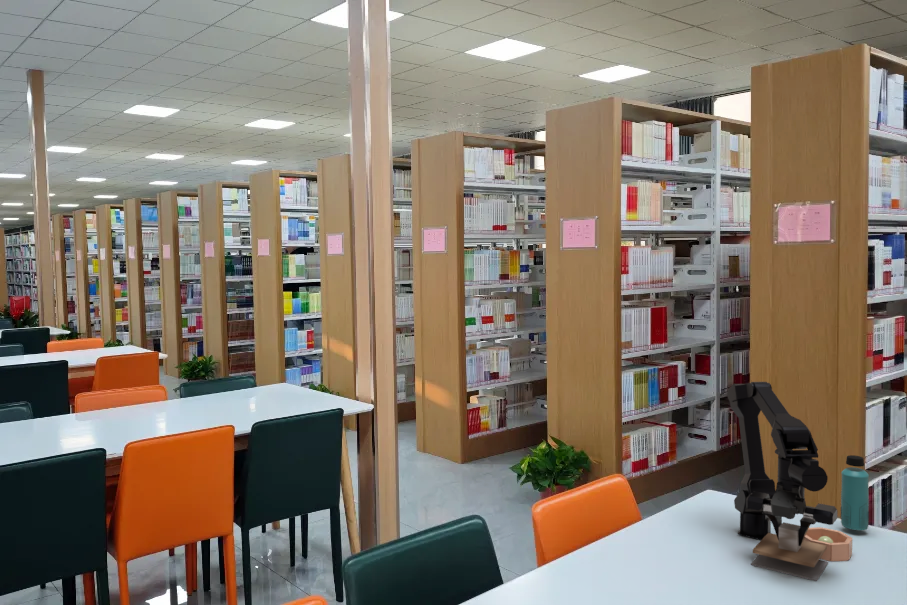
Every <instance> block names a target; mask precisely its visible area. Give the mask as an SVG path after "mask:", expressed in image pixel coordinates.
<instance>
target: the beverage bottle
mask: <svg viewBox="0 0 907 605" xmlns="http://www.w3.org/2000/svg"><path fill="white" fill-rule="evenodd" d="M845 459H846V461H845V464H846V465H848V466H849V467H846V468H844V469H843V470H842V471H841V490H840V493H841V494H840V523H841V525H842V527H844V528H846V529H850V530H854V531H865V530H867V529H868V528H869V524H870V511H869V508H870V500H869V499H870V498H869V496H870V495H869V477H870V475H869V473H868V472H867V471H866V470H864V469H862V468H859V467H864V466H865V462H864V461H865V460H864V457H862V456H859V455H851V454H850V455H846V458H845ZM851 466H852V467H851Z"/></svg>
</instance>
